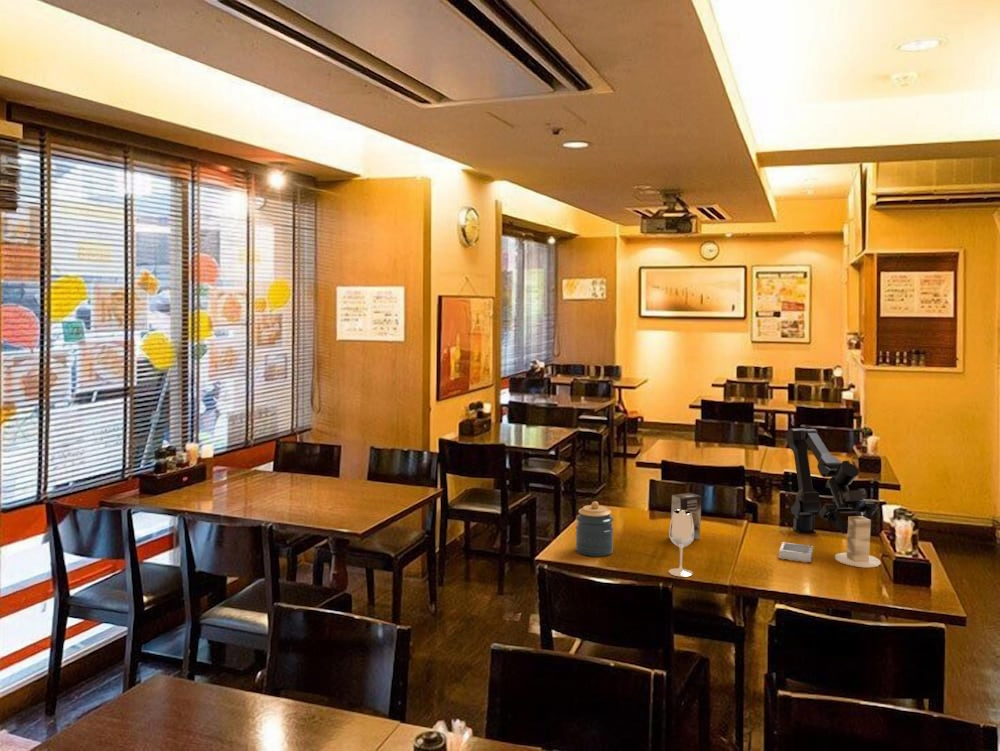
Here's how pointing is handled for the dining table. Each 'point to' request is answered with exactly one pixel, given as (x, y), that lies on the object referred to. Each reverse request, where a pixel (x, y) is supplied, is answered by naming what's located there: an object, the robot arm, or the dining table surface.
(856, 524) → the maple block
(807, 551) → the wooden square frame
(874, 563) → the plate
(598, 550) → the canister
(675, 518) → the wineglass
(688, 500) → the coffee box
